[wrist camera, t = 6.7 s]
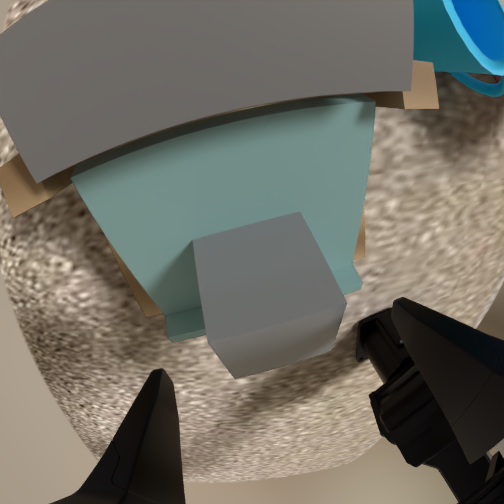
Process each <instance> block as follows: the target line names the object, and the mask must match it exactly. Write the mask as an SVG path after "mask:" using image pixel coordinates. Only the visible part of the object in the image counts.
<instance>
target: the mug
mask: <svg viewBox="0 0 504 504" xmlns="http://www.w3.org/2000/svg"><path fill="white" fill-rule="evenodd" d="M413 8H414V48H413V60H417V61H425V62H432V63H433V67H434V72H449V73H450V74H451V75H452V76H453V77H454V78H456V79H457V80H458V81H460V82H461V83H463V84H464V85H466V86H467V87H469V88H470V89H472V90H474V91H476V92H478V93H480V94H483V95H487V96H490V97H499V96H501V95H503V94H504V8H503V6H502V4H501V2H500V0H413ZM467 73H480V74H491V75H500V76H502V77H501V80H500V81H499V82H498V83H496V84H489V83H485V82H482V81H480V80H478V79H476V78H474V77H472V76H470V75H469V74H467Z"/></svg>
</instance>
